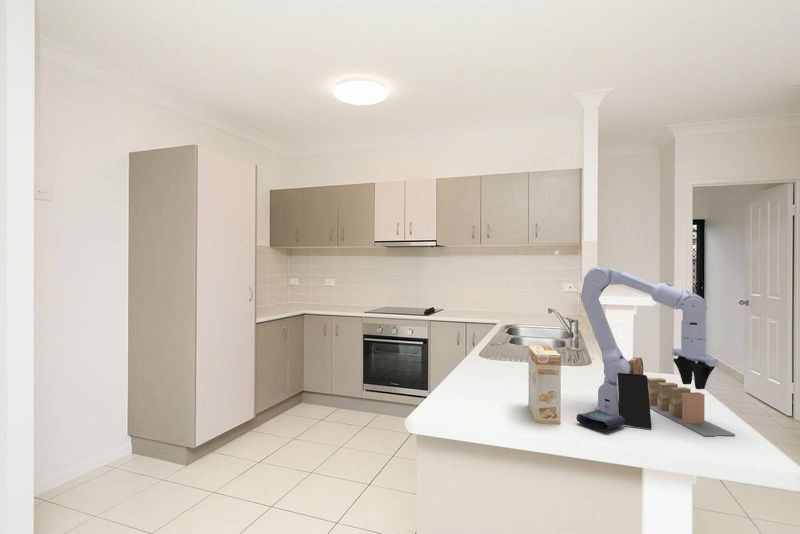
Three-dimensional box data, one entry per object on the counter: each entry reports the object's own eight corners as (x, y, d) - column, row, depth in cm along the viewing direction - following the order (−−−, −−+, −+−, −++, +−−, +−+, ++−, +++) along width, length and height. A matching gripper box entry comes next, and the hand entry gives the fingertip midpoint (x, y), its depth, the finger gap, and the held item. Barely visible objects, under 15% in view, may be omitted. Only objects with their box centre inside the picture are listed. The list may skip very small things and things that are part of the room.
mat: (735, 436, 112) (735, 434, 112) (704, 437, 112) (704, 435, 112) (650, 396, 146) (650, 395, 146) (626, 397, 145) (626, 396, 145)
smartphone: (618, 424, 119) (616, 372, 126) (618, 426, 120) (615, 374, 127) (652, 429, 116) (647, 375, 123) (651, 430, 117) (647, 376, 124)
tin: (634, 385, 160) (634, 362, 160) (625, 383, 162) (625, 361, 162) (644, 377, 171) (644, 356, 171) (635, 376, 173) (635, 355, 173)
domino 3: (690, 416, 125) (690, 389, 125) (674, 417, 125) (674, 389, 125) (685, 414, 127) (685, 387, 127) (669, 414, 127) (669, 387, 127)
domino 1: (665, 405, 136) (665, 379, 136) (650, 405, 135) (650, 380, 135) (661, 403, 138) (661, 378, 138) (646, 403, 137) (646, 378, 137)
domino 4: (704, 423, 120) (704, 394, 120) (687, 423, 120) (687, 394, 120) (698, 420, 122) (698, 392, 122) (682, 421, 122) (682, 392, 122)
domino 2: (677, 410, 131) (677, 384, 131) (661, 411, 130) (661, 384, 130) (672, 408, 133) (673, 382, 133) (657, 408, 132) (657, 382, 132)
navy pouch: (575, 412, 120) (598, 407, 126) (575, 423, 120) (598, 418, 126) (607, 422, 112) (629, 416, 118) (607, 433, 112) (629, 427, 118)
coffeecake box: (561, 425, 120) (561, 355, 120) (534, 424, 121) (534, 354, 121) (551, 408, 134) (551, 345, 134) (527, 406, 136) (527, 344, 135)
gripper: (728, 342, 114) (728, 393, 114) (687, 333, 129) (687, 379, 129) (703, 342, 114) (703, 394, 114) (665, 333, 128) (665, 379, 128)
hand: (693, 386), depth 121 cm, fingers open, 4 cm apart
